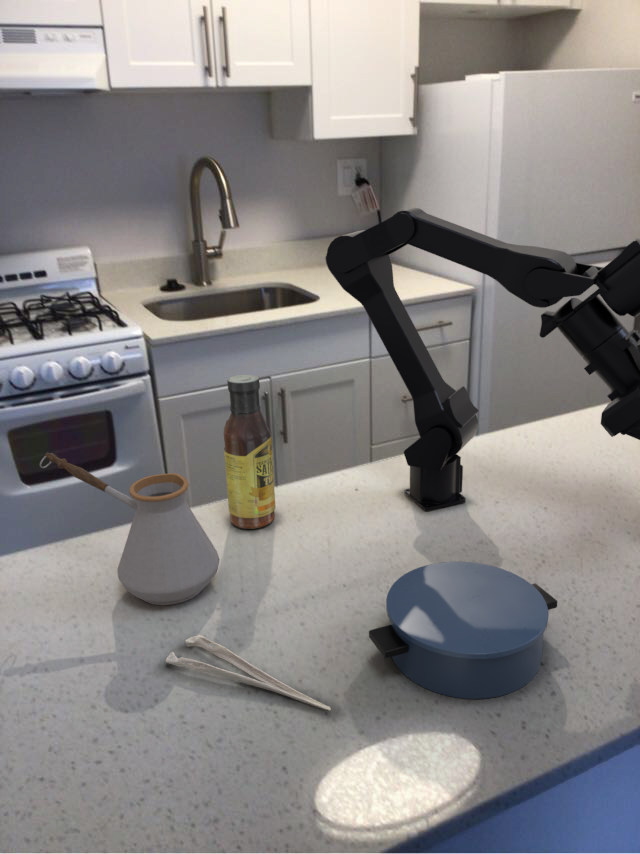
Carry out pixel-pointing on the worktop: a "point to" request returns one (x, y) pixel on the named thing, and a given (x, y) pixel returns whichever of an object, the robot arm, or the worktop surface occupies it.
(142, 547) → the coffee pot
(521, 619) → the enamel pot
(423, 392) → the robot arm
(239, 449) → the sauce bottle
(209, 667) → the tweezers
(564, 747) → the worktop surface
